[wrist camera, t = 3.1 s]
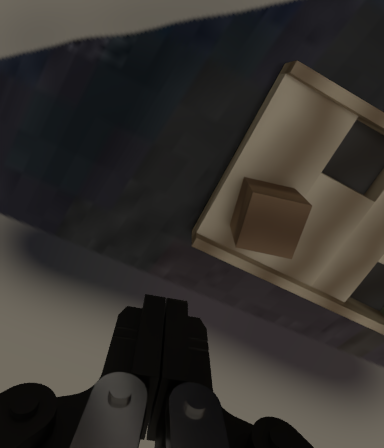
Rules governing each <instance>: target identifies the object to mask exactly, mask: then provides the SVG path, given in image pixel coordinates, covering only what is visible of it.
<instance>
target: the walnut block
mask: <svg viewBox="0 0 384 448" xmlns="http://www.w3.org/2000/svg"><path fill="white" fill-rule="evenodd" d="M311 208H312V205H311V204H310V203H309V202H308V201H307V200H306V199H305V198H304V197H303V196H302V195H301V194H300V193H299V192H298V191H297V190H296V189H295V188H291V187H287V186H282V185H278V184H274V183H269V182H265V181H261V180H256V179H252V178H248V177H244V179H243V182H242V185H241V189H240V192H239V196H238V199H237V202H236V206H235V209H234V212H233V216H232V219H231V223H230V228H231V232H232V235H233V239H234V243H235V246H236V248H241V249H245V250H250V251H255V252H259V253H264V254H269V255H274V256H278V257H283V258H288V259H292V257H293V255H294V252H295V250H296V247H297V245H298V242H299V239H300V237H301V234H302V232H303V229H304V227H305V224H306V221H307V219H308V216H309V214H310V211H311Z"/></svg>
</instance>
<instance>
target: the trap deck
mask: <svg viewBox="0 0 384 448" xmlns="http://www.w3.org/2000/svg"><path fill="white" fill-rule="evenodd" d="M244 177H248V178H252V179H256V180H261V181H265V182H269V183H274V184H278V185H282V186H287V187H291V188H295V189H296V190H297V191H298V192H299V193H300V194H301V195H302V196H303V197H304V198H305V199H306V200H307V201H308V202H309V203H310V204H311V205H312V208H311V211H310V214H309V216H308V219H307V221H306V224H305V227H304V229H303V232H302V234H301V237H300V239H299V242H298V245H297V247H296V250H295V252H294V255H293V257H292V259H288V258H283V257H278V256H274V255H269V254H264V253H259V252H255V251H250V250H245V249H241V248H236V246H235V243H234V239H233V235H232V232H231V228H230V223H231V219H232V216H233V212H234V209H235V206H236V202H237V199H238V196H239V192H240V189H241V185H242V182H243V179H244ZM192 247H194V248H197V249H199V250H201V251H203V252H205V253H207V254H210V255H212V256H214V257H216V258H218V259H220V260H223V261H225V262H227V263H229V264H231V265H233V266H236V267H238V268H240V269H242V270H244V271H246V272H249V273H251V274H253V275H255V276H257V277H259V278H262V279H264V280H266V281H268V282H270V283H272V284H275V285H277V286H279V287H281V288H283V289H285V290H288V291H290V292H292V293H294V294H296V295H298V296H301V297H303V298H305V299H307V300H309V301H311V302H314V303H316V304H318V305H320V306H322V307H324V308H327V309H329V310H331V311H333V312H335V313H337V314H340V315H342V316H344V317H346V318H348V319H350V320H353V321H355V322H357V323H359V324H361V325H363V326H366V327H368V328H370V329H372V330H374V331H376V332H379V333H381V334H383V335H384V112H382V111H380V110H379V109H377V108H375V107H374V106H372V105H370V104H369V103H367V102H365V101H364V100H362V99H360V98H359V97H357V96H355V95H354V94H352V93H350V92H349V91H347V90H345V89H344V88H342V87H340V86H339V85H337V84H335V83H334V82H332V81H330V80H329V79H327V78H325V77H324V76H322V75H320V74H319V73H317V72H315V71H314V70H312V69H311V68H309V67H307V66H306V65H304V64H302V63H301V62H299V61H293V62H289V63H285V64H284V66H283V68H282V70H281V72H280V73H279V75H278V77H277V79H276V81H275V82H274V84H273V86H272V88H271V90H270V91H269V93H268V95H267V97H266V99H265V100H264V102H263V104H262V106H261V108H260V109H259V111H258V113H257V115H256V116H255V118H254V120H253V122H252V124H251V125H250V127H249V129H248V131H247V133H246V134H245V136H244V138H243V140H242V142H241V143H240V145H239V147H238V149H237V151H236V152H235V154H234V156H233V158H232V160H231V161H230V163H229V165H228V167H227V169H226V170H225V172H224V174H223V176H222V178H221V179H220V181H219V183H218V185H217V187H216V188H215V190H214V192H213V194H212V196H211V197H210V199H209V201H208V203H207V205H206V206H205V208H204V210H203V212H202V214H201V215H200V217H199V219H198V221H197V223H196V224H195V226H194V228H193V230H192Z"/></svg>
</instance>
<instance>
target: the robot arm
mask: <svg viewBox="0 0 384 448" xmlns="http://www.w3.org/2000/svg"><path fill="white" fill-rule="evenodd" d="M165 299H166V298H165V297H159V296H153V295H147V294H145V298H144V303H143V308H136V307H130V306H127V307H126V308H125V309H124V310H123V311H122V312H121V313H120V314H119V315H118V319H117V322H116V326H115V330H114V333H113V337H112V340H111V344H110V347H109V351H108V354H107V358H106V361H105V365H104V368H103V372H102V375H101V377H100V379H99V380H98V381H97V383H96V384H95V385H93V386H92V387H91V388H89V389H88V390H86V391H84V392H81V393H79V394H74V395H69V396H62V397H56V396H55V394H54V392H53V391H52V390H51V389H50V388H49V387H47V386H45V385H42V384H38V383H24V384H19V385H16V386H13V387H11V388H9V389H7V390H6V391H4V392H2V393H0V448H138V447H139V443H140V439H143V440H144V438H145V434H146V430H147V426H148V431H147V440H152V441H155V448H314V447H313V446H312V445H311V444H310V443H309V442H308V441H307V440H306V439H305V438H303V436H302V435H301V434H300V433H298V432H297V430H296V429H294V428H293V427H292V426H291V425H289V424H288V423H287V422H285V421H283V420H281V419H279V418H275V417H263V418H260V419H259V420H257V421H256V422H255V424H254V425H252V424H250V423H248V422H246V421H243V420H241V419H239V418H237V417H234V416H233V415H231V414H230V413H228V412H227V411H226V410H225V409H223V408H222V407H221V404H220V401H219V399H218V397H217V396H216V394H215V393H214V392H213V388H212V379H211V368H210V358H209V352H208V343H207V341H208V339H207V329H206V327H205V326H204V324H203V323H202V321H201V320H200V318H196V317H190V316H188V304H187V301H183V300H177V299H170V298H167V299H166V303H165Z"/></svg>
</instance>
